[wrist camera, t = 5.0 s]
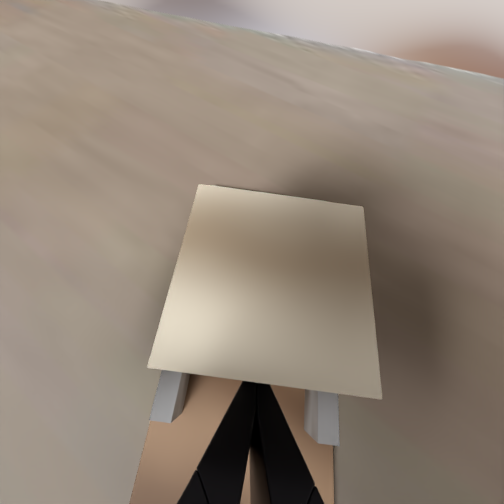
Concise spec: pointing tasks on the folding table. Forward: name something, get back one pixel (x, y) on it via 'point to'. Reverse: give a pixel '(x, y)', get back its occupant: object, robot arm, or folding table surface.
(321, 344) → the block
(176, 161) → the folding table surface
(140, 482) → the chute
